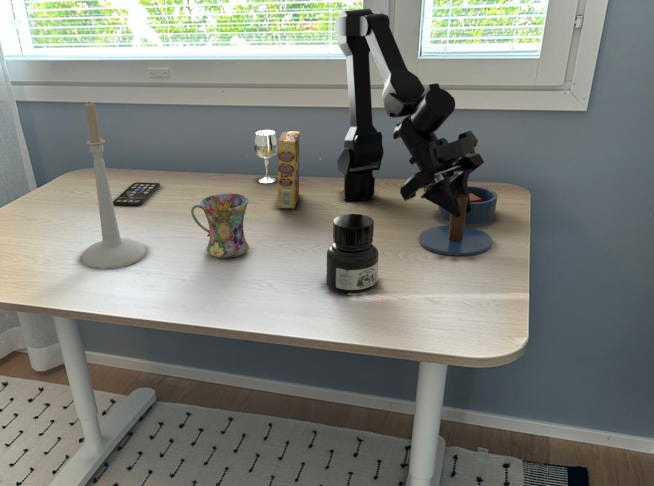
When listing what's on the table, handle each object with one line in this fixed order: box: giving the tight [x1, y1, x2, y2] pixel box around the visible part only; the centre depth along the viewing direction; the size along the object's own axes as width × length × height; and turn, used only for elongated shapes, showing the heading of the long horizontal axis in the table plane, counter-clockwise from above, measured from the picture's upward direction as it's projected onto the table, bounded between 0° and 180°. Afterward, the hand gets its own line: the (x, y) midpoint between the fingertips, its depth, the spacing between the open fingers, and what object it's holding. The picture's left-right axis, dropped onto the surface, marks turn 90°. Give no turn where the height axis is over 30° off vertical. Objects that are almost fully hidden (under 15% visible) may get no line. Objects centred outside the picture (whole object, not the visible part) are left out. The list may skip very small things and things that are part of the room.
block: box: [469, 193, 482, 203], centre depth 145 cm, size 4×4×4 cm
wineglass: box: [253, 129, 278, 184], centre depth 172 cm, size 6×6×12 cm
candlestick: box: [81, 101, 146, 270], centre depth 131 cm, size 13×13×30 cm
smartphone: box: [112, 181, 161, 206], centre depth 170 cm, size 7×1×15 cm
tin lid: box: [418, 194, 493, 257], centre depth 132 cm, size 14×14×10 cm
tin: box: [437, 185, 499, 226], centre depth 145 cm, size 11×12×5 cm
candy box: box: [277, 130, 301, 210], centre depth 156 cm, size 9×4×15 cm, turn 169°
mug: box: [190, 192, 250, 259], centre depth 135 cm, size 12×9×11 cm
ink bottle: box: [325, 213, 379, 295], centre depth 119 cm, size 10×9×12 cm
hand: (464, 213), depth 130 cm, fingers closed on tin lid, 3 cm apart
